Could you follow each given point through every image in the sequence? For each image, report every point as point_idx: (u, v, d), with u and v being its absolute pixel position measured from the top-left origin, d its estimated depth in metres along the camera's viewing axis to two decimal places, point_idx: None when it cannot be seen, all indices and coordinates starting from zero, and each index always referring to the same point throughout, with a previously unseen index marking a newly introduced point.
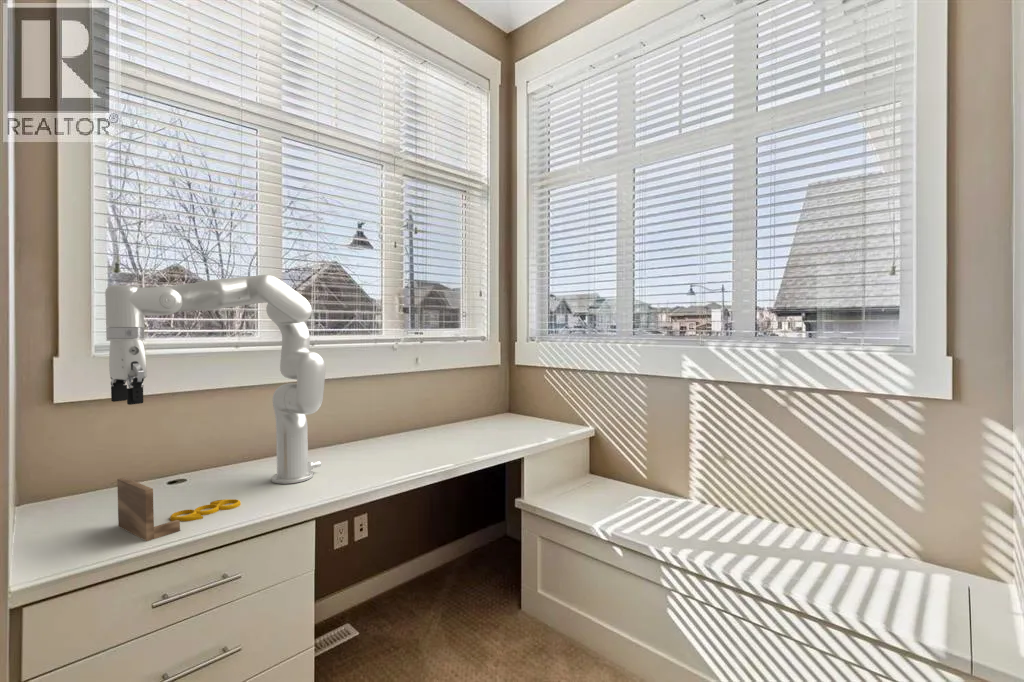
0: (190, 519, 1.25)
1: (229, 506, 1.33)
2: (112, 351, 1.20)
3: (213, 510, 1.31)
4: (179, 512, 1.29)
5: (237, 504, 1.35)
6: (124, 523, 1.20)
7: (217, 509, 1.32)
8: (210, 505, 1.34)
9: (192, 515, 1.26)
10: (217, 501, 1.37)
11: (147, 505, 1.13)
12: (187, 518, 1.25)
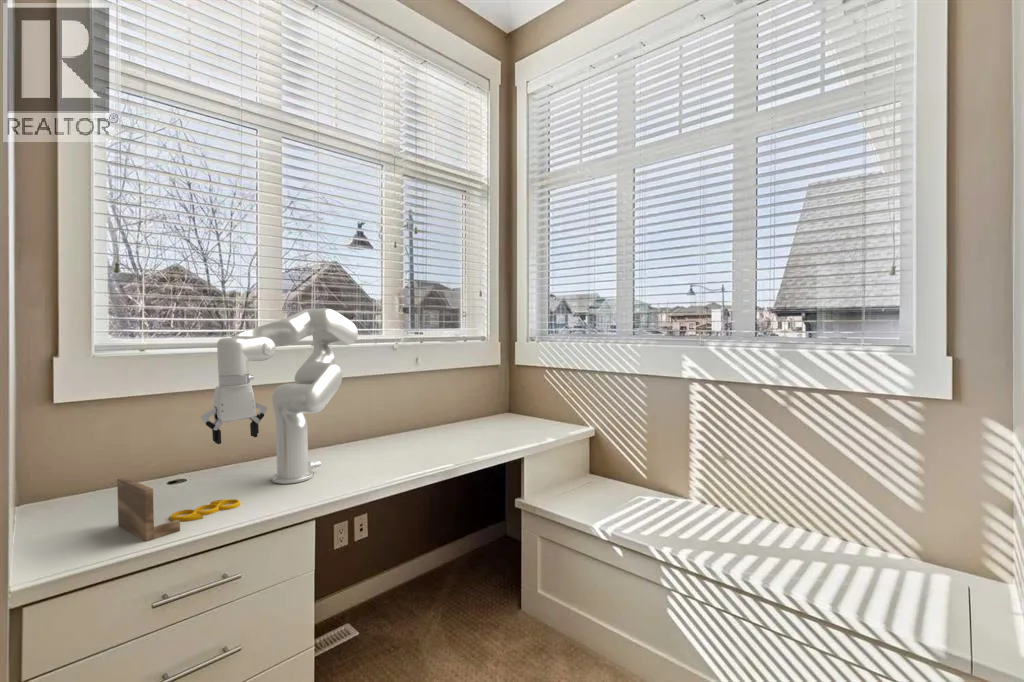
0: (190, 519, 1.25)
1: (229, 506, 1.33)
2: (234, 396, 1.37)
3: (213, 510, 1.31)
4: (179, 512, 1.29)
5: (237, 504, 1.35)
6: (124, 523, 1.20)
7: (217, 509, 1.32)
8: (210, 505, 1.34)
9: (192, 515, 1.26)
10: (217, 501, 1.37)
11: (147, 505, 1.13)
12: (187, 518, 1.25)
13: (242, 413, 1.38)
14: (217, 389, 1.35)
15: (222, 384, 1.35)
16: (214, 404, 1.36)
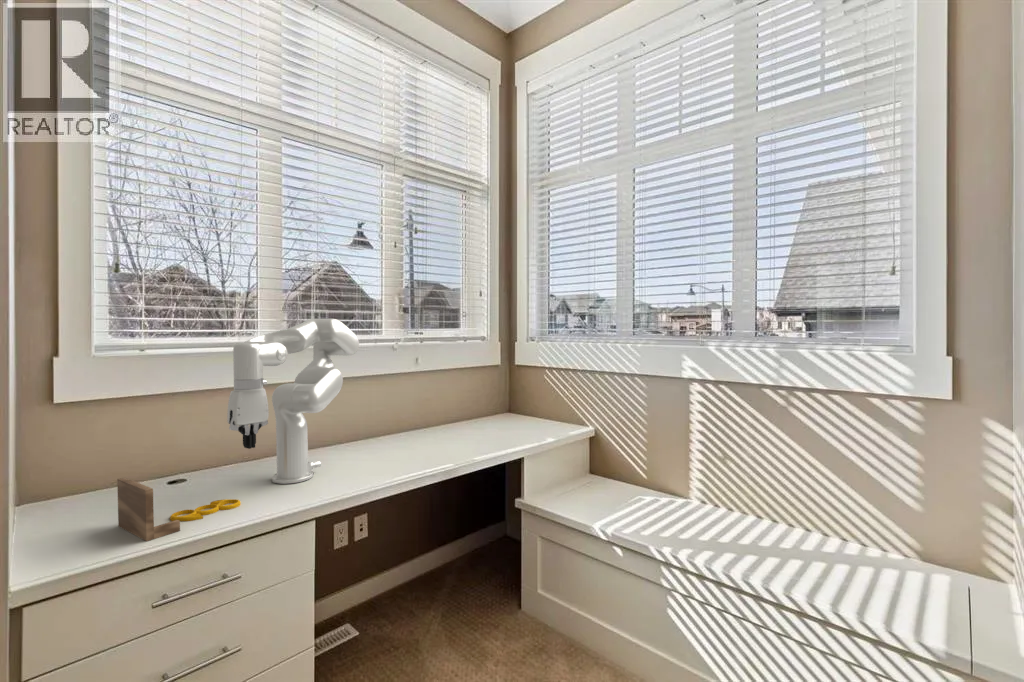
0: (190, 519, 1.25)
1: (229, 506, 1.33)
2: (250, 400, 1.39)
3: (213, 510, 1.31)
4: (179, 512, 1.29)
5: (237, 504, 1.35)
6: (124, 523, 1.20)
7: (217, 509, 1.32)
8: (210, 505, 1.34)
9: (192, 515, 1.26)
10: (217, 501, 1.37)
11: (147, 505, 1.13)
12: (187, 518, 1.25)
13: (256, 417, 1.41)
14: (234, 393, 1.37)
15: (239, 388, 1.38)
16: (229, 408, 1.38)
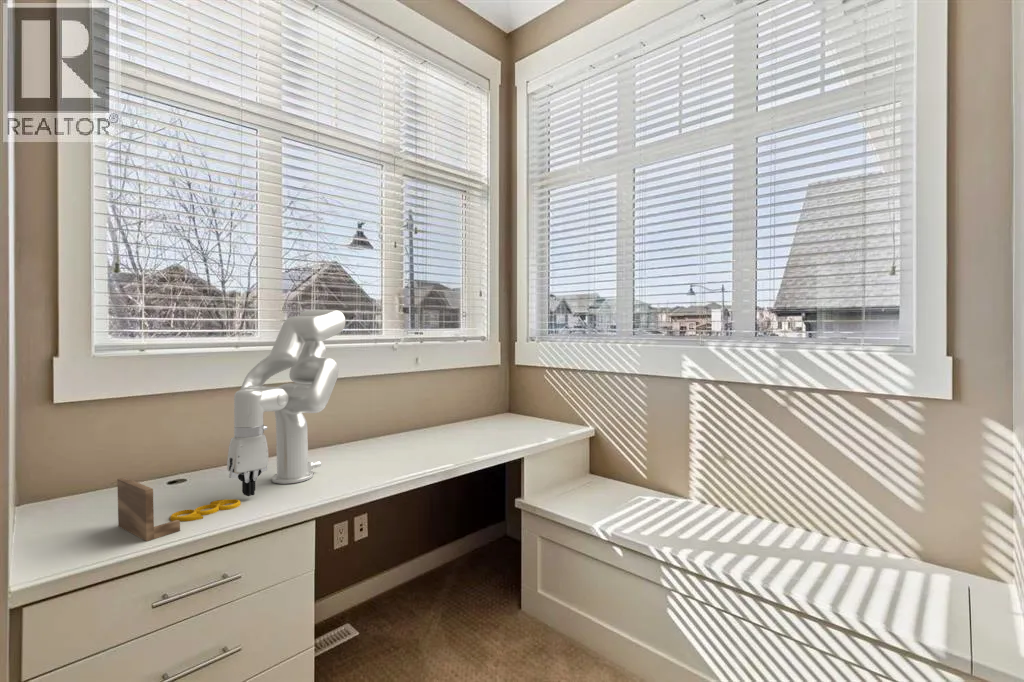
0: (190, 519, 1.25)
1: (229, 506, 1.33)
2: (250, 447, 1.39)
3: (213, 510, 1.31)
4: (179, 512, 1.29)
5: (237, 504, 1.35)
6: (124, 523, 1.20)
7: (217, 509, 1.32)
8: (210, 505, 1.34)
9: (192, 515, 1.26)
10: (217, 501, 1.37)
11: (147, 505, 1.13)
12: (187, 518, 1.25)
13: (256, 464, 1.41)
14: (234, 441, 1.37)
15: (239, 436, 1.38)
16: (229, 456, 1.38)
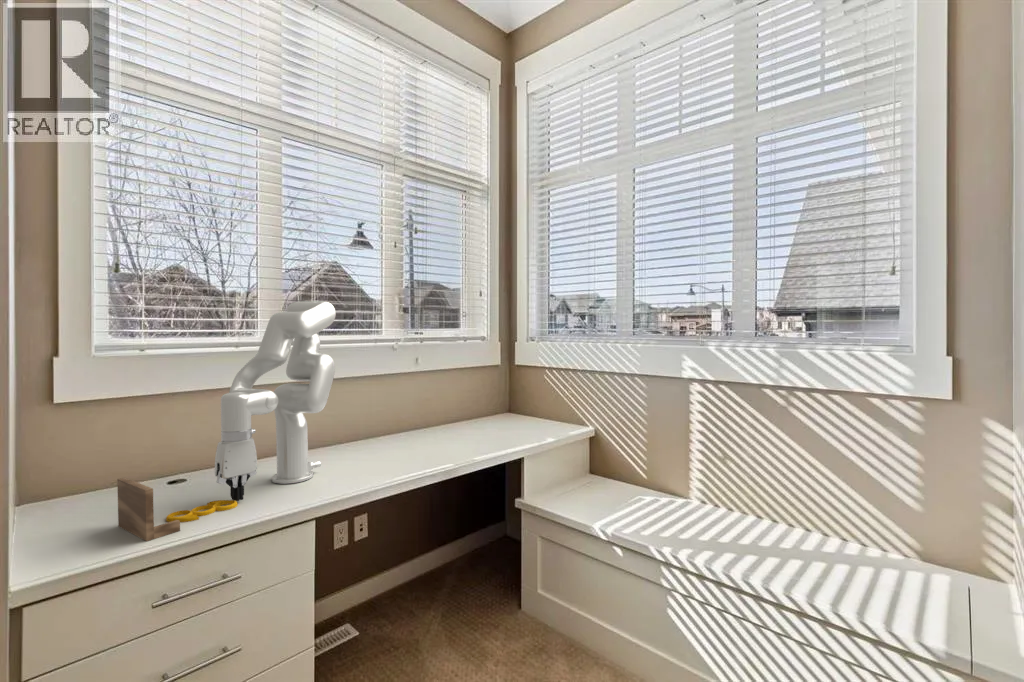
0: (186, 520, 1.25)
1: (225, 507, 1.33)
2: (238, 452, 1.36)
3: (209, 511, 1.30)
4: (175, 512, 1.29)
5: (234, 505, 1.34)
6: (124, 523, 1.20)
7: (213, 510, 1.31)
8: (207, 506, 1.33)
9: (188, 516, 1.26)
10: (214, 502, 1.36)
11: (147, 505, 1.13)
12: (183, 519, 1.25)
13: (245, 468, 1.38)
14: (221, 446, 1.34)
15: (226, 440, 1.35)
16: (217, 460, 1.35)
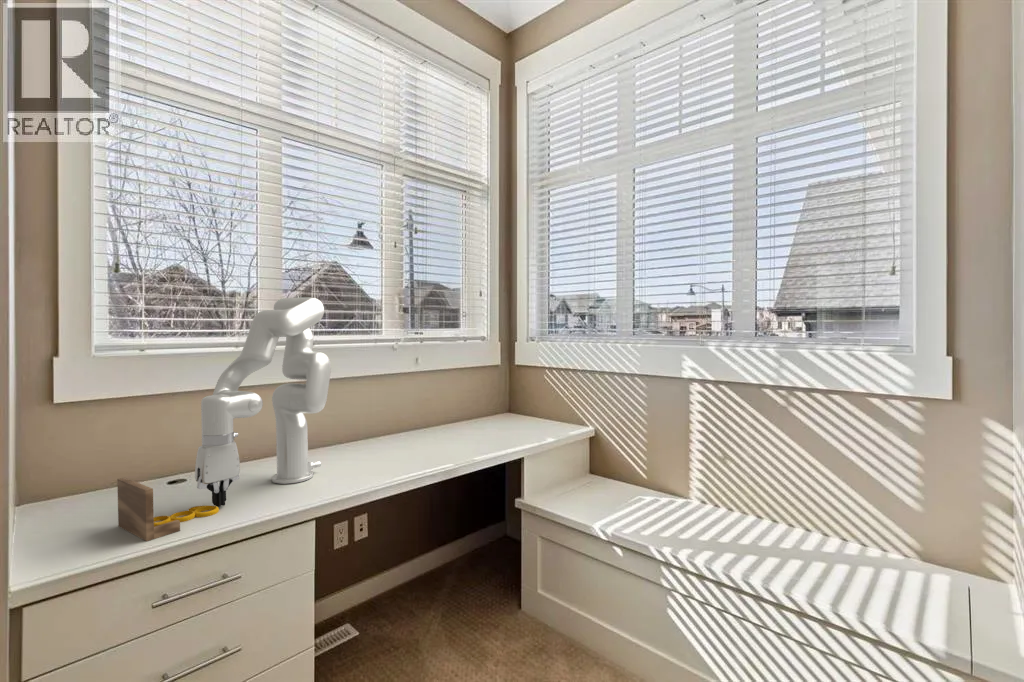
0: None
1: (205, 513, 1.28)
2: (219, 456, 1.32)
3: (188, 517, 1.26)
4: (154, 518, 1.25)
5: (214, 511, 1.30)
6: (124, 523, 1.20)
7: (192, 516, 1.27)
8: (187, 511, 1.29)
9: (164, 522, 1.22)
10: (195, 507, 1.32)
11: (147, 505, 1.13)
12: None
13: (226, 473, 1.34)
14: (202, 450, 1.30)
15: (207, 444, 1.30)
16: (197, 465, 1.31)
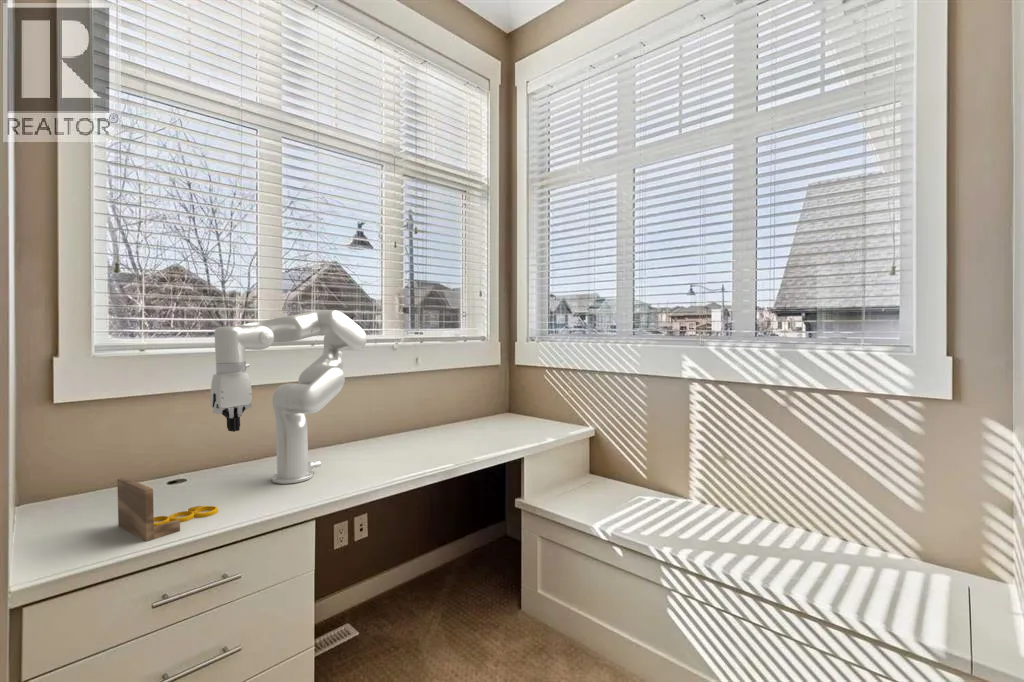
0: None
1: (204, 514, 1.28)
2: (233, 383, 1.39)
3: (187, 517, 1.25)
4: None
5: (213, 512, 1.30)
6: (124, 523, 1.20)
7: (192, 516, 1.27)
8: (186, 512, 1.29)
9: (163, 522, 1.21)
10: (195, 507, 1.32)
11: (147, 505, 1.13)
12: None
13: (240, 400, 1.42)
14: (217, 377, 1.37)
15: (221, 371, 1.38)
16: (212, 391, 1.38)
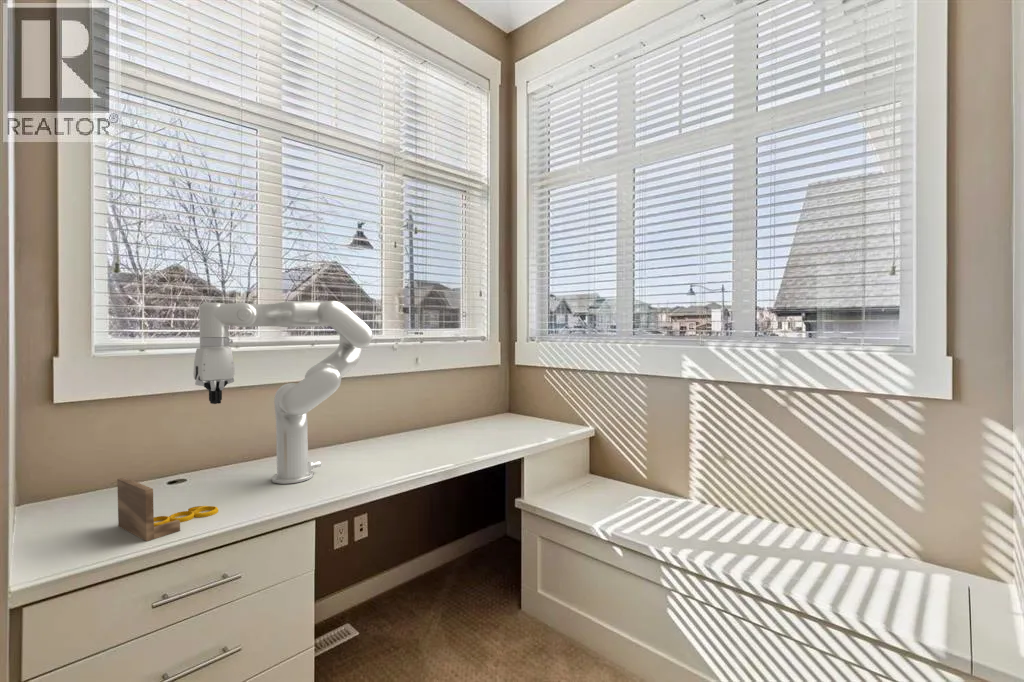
0: None
1: (204, 514, 1.28)
2: (215, 357, 1.45)
3: (187, 517, 1.25)
4: None
5: (213, 512, 1.30)
6: (124, 523, 1.20)
7: (192, 516, 1.27)
8: (186, 512, 1.29)
9: (163, 522, 1.21)
10: (195, 507, 1.32)
11: (147, 505, 1.13)
12: None
13: (222, 374, 1.47)
14: (199, 350, 1.43)
15: (204, 345, 1.44)
16: (195, 364, 1.44)
